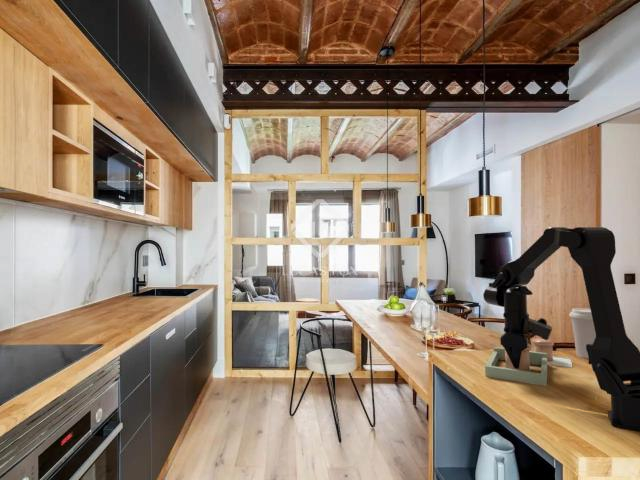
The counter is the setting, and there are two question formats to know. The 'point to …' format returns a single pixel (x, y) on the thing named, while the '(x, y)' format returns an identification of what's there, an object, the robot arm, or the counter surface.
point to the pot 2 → (544, 347)
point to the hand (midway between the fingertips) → (517, 365)
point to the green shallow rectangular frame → (515, 374)
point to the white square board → (560, 362)
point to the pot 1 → (524, 360)
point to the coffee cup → (582, 330)
